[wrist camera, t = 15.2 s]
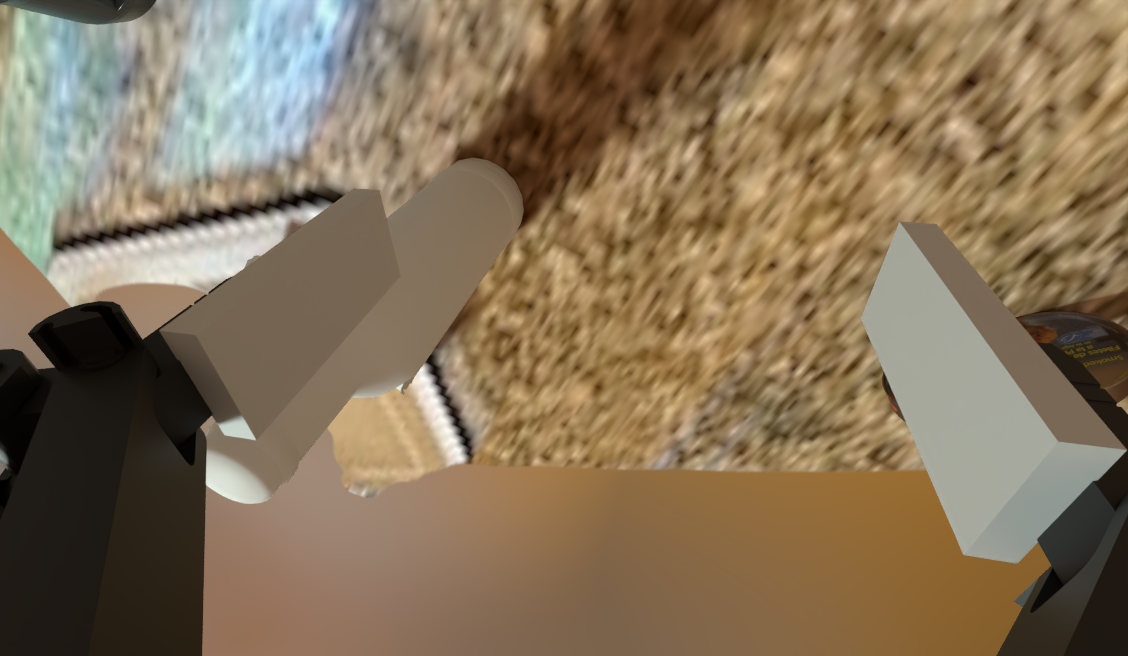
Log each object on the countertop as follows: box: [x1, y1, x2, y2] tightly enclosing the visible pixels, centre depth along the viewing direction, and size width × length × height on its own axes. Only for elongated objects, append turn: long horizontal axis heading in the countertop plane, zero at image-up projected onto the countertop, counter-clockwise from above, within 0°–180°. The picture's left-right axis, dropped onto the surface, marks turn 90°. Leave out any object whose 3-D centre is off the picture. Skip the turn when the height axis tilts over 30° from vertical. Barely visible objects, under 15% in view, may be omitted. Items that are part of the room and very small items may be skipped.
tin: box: [882, 311, 1128, 422], centre depth 39 cm, size 15×3×8 cm, turn 121°
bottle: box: [206, 158, 524, 504], centre depth 33 cm, size 8×8×30 cm
